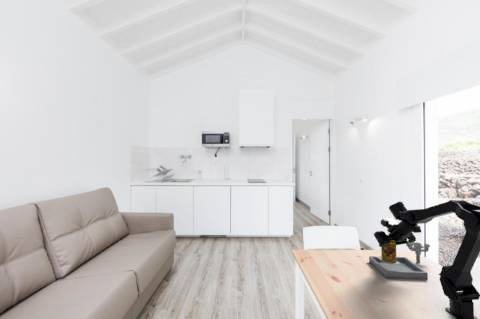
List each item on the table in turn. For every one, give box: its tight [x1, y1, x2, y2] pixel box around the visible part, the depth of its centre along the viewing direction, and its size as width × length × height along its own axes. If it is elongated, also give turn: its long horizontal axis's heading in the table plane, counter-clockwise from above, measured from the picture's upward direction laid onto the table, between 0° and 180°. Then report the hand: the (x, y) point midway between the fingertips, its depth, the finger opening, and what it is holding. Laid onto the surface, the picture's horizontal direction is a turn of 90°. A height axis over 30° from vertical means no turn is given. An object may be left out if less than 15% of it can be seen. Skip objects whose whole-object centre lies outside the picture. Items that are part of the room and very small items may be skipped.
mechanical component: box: [406, 242, 430, 264], centre depth 129 cm, size 3×10×10 cm, turn 78°
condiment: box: [376, 234, 401, 264], centre depth 119 cm, size 7×8×12 cm
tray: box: [368, 255, 429, 280], centre depth 121 cm, size 18×18×3 cm
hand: (385, 245), depth 120 cm, fingers closed on condiment, 6 cm apart
